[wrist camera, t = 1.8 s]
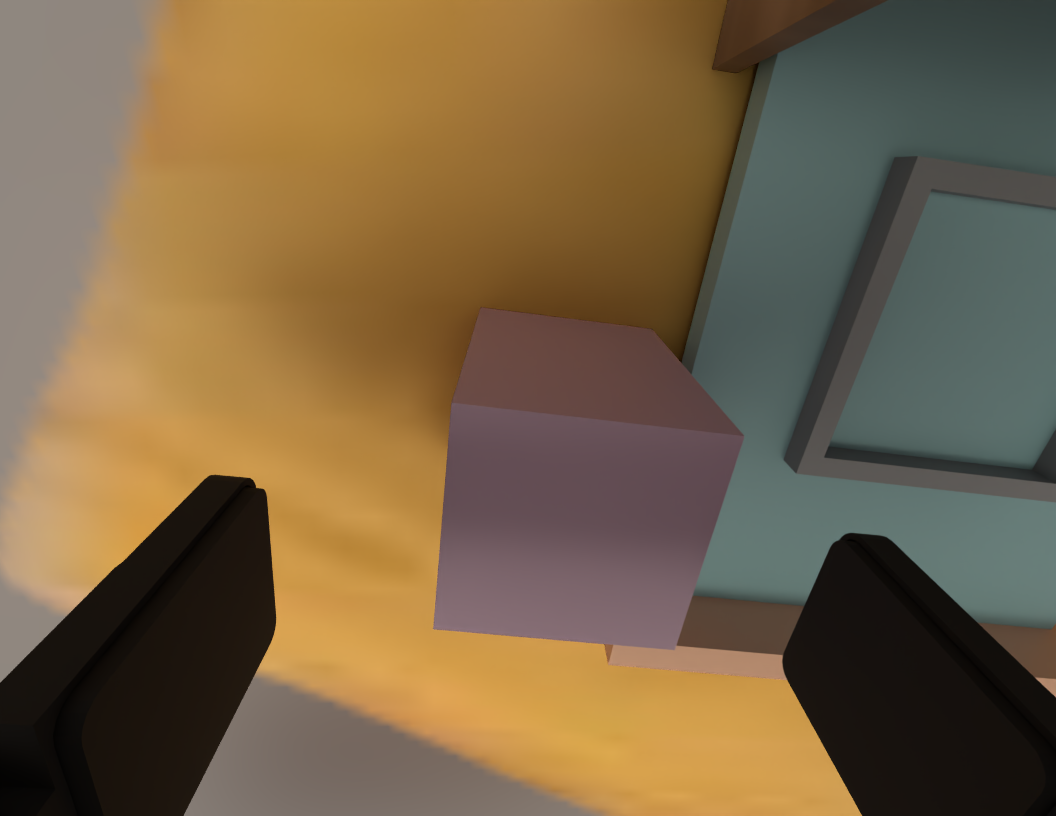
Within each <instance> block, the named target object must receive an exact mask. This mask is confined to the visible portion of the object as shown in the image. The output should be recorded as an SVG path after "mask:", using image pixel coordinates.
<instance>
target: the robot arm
mask: <svg viewBox="0 0 1056 816" xmlns="http://www.w3.org/2000/svg"><path fill="white" fill-rule="evenodd" d="M275 626H276V609H275V596H274V583H273V570H272V557H271V544H270V531H269V518H268V505H267V495H266V492H265V490H264V489H261V488H256V485H255V483H254V481H253V480H252V479H251V478H244V477H233V476H222V475H210V476H208V477H207V478H206V479H205V480H204V481H203V482H202V483H201V484H200V485H199V486H198V487H197V488H196V489H195V490H194V491H193V492H192V493H191V494H190V495H189V496H188V497H187V498H186V499H185V500H184V501H183V502H182V503H181V504H180V505H179V506H178V507H177V508H176V509H175V510H174V511H173V512H172V513H171V514H170V515H169V516H168V517H167V518H166V519H165V520H164V521H163V522H162V523H161V524H160V525H159V526H158V527H157V528H156V529H155V530H154V531H153V532H152V533H151V534H150V535H149V536H148V537H147V538H146V539H145V540H144V541H143V542H142V543H141V544H140V545H139V546H138V547H137V548H136V549H135V550H134V551H133V552H132V553H131V554H130V555H129V556H128V557H127V558H126V559H125V560H124V561H123V562H122V563H121V564H119V565H118V566H117V567H115V568H114V569H113V570H112V571H111V572H110V573H109V574H108V575H107V576H106V577H105V578H104V579H103V580H102V581H101V582H100V583H99V584H98V585H97V586H96V587H95V588H94V589H93V590H92V591H91V592H90V593H89V594H88V595H87V596H86V597H85V598H84V599H83V600H82V601H81V602H80V603H79V604H78V605H77V606H76V607H75V608H74V609H73V610H72V611H71V612H70V613H69V614H68V615H67V616H66V617H65V618H64V619H63V620H62V621H61V622H60V623H59V624H58V625H57V626H56V628H55V629H54V630H52V631H51V632H50V633H49V634H48V635H47V636H46V637H45V638H44V640H43V641H42V642H40V643H39V644H38V645H37V646H36V647H35V648H34V649H33V651H31V652H30V653H29V654H28V655H27V656H26V657H25V658H24V659H23V661H21V662H20V664H18V666H17V667H15V669H13V671H12V672H11V673H10V674H9V675H8V676H7V677H6V678H5V679H4V680H3V681H2V682H1V683H0V816H184V813H185V812H186V809H187V808H188V806H189V804H190V802H191V799H192V798H193V796H194V794H195V792H196V790H197V788H198V786H199V784H200V782H201V780H202V778H203V776H204V774H205V772H206V770H207V768H208V766H209V764H210V762H211V760H212V758H213V756H214V754H215V752H216V750H217V748H218V746H219V744H220V742H221V740H222V738H223V736H224V734H225V732H226V730H227V729H228V727H229V725H230V723H231V720H232V719H233V716H234V715H235V713H236V711H237V709H238V707H239V705H240V703H241V700H242V699H243V697H244V695H245V693H246V691H247V689H248V687H249V685H250V683H251V681H252V679H253V677H254V675H255V673H256V671H257V669H258V667H259V665H260V663H261V661H262V659H263V657H264V655H265V653H266V651H267V649H268V647H269V645H270V643H271V641H272V638H273V635H274V631H275ZM782 665H783V671H784V674H785V676H786V679H787V680H788V682H789V684H790V686H791V688H792V689H793V691H794V693H795V695H796V697H797V699H798V700H799V702H800V704H801V706H802V708H803V709H804V711H805V713H806V715H807V717H808V718H809V720H810V722H811V724H812V726H813V727H814V729H815V731H816V733H817V735H818V737H819V738H820V740H821V742H822V744H823V746H824V747H825V749H826V751H827V753H828V755H829V756H830V758H831V760H832V762H833V764H834V766H835V767H836V769H837V771H838V773H839V775H840V776H841V778H842V780H843V782H844V784H845V785H846V787H847V789H848V791H849V793H850V795H851V796H852V798H853V800H854V802H855V804H856V805H857V807H858V809H859V811H860V813H861V814H862V816H1056V697H1055V696H1054V695H1053V694H1052V693H1051V692H1050V691H1049V690H1048V689H1047V688H1045V687H1044V686H1043V685H1042V684H1041V683H1040V682H1039V681H1038V680H1037V679H1036V678H1035V677H1034V676H1033V675H1032V674H1031V673H1030V672H1029V671H1028V670H1027V669H1026V668H1025V667H1023V666H1022V665H1021V664H1020V663H1019V662H1018V661H1017V660H1016V659H1015V658H1014V657H1013V656H1012V655H1011V654H1010V653H1009V652H1008V651H1007V650H1006V649H1005V648H1004V647H1003V646H1002V645H1000V644H999V643H998V642H997V641H996V640H995V639H994V638H993V637H992V636H991V635H990V634H989V633H988V632H987V631H986V630H985V629H984V628H983V627H982V626H981V625H980V624H978V623H977V622H976V621H975V620H974V619H973V618H972V617H971V616H970V615H969V614H968V613H967V612H966V611H965V610H964V609H963V608H962V607H961V606H960V605H959V604H958V603H957V602H955V601H954V600H953V599H952V598H951V597H950V596H949V595H948V594H947V593H946V592H945V591H944V590H943V589H942V588H941V587H940V586H939V585H938V584H937V583H936V582H935V581H933V580H932V579H931V578H930V577H929V576H928V575H927V574H926V573H925V572H924V571H923V570H922V569H921V568H920V567H919V566H918V565H917V564H916V563H915V562H914V561H913V560H912V559H910V558H909V557H908V556H907V555H906V554H905V553H904V552H903V551H902V550H901V549H900V548H899V547H898V546H897V545H896V544H895V543H894V542H893V541H892V540H890V539H889V538H887V537H885V536H881V535H872V534H861V533H847V534H845V535H843V536H842V537H841V538H840V540H838V541H835V542H834V543H833V544H832V545H831V547H830V549H829V551H828V553H827V556H826V558H825V560H824V562H823V565H822V567H821V569H820V571H819V574H818V576H817V578H816V581H815V583H814V585H813V587H812V590H811V592H810V594H809V596H808V599H807V601H806V603H805V605H804V608H803V610H802V612H801V614H800V617H799V619H798V621H797V624H796V626H795V628H794V630H793V633H792V635H791V637H790V639H789V642H788V644H787V646H786V648H785V651H784V653H783V657H782Z"/></svg>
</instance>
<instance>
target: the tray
mask: <svg viewBox="0 0 1056 816" xmlns="http://www.w3.org/2000/svg"><path fill="white" fill-rule="evenodd" d="M682 364H683V365H684V367H685V368H686V369H687V370H688V371H689V372H690V374H691V375H692V376H693V377H694V378H695V379H696V381H697V382H698V383H699V384H700V385H701V386H702V387H703V389H704V390H705V391H706V392H707V393H708V394H709V396H710V397H711V398H712V399H713V400H714V401H715V402H716V404H717V405H718V406H719V407H720V408H721V409H722V411H723V412H724V413H725V414H726V415H727V416H728V418H729V419H730V420H731V421H732V422H733V423H734V424H735V426H736V427H737V428H738V429H739V430H740V431H741V433H742V434H743V435H744V436H745V437H744V440H743V443H742V446H741V449H740V452H739V455H738V458H737V462H736V465H735V468H734V471H733V474H732V477H731V480H730V483H729V486H728V489H727V492H726V495H725V498H724V501H723V504H722V507H721V510H720V513H719V516H718V520H717V523H716V526H715V529H714V532H713V535H712V538H711V541H710V544H709V547H708V550H707V553H706V556H705V559H704V562H703V565H702V568H701V571H700V575H699V578H698V581H697V584H696V587H695V590H694V593H693V596H692V599H691V602H690V605H689V608H688V611H687V614H686V617H685V620H684V623H683V626H682V629H681V633H680V636H679V639H678V642H677V645H676V648H675V650H667V649H655V648H644V647H632V646H621V645H609V644H605V650H606V655H607V661H608V665H616V666H628V667H640V668H652V669H663V670H675V671H687V672H699V673H710V674H722V675H734V676H746V677H758V678H769V679H781V680H787V679H786V676H785V674H784V671H783V665H782V657H783V653H784V651H785V648H786V646H787V644H788V642H789V639H790V637H791V635H792V633H793V630H794V628H795V626H796V624H797V621H798V619H799V617H800V614H801V612H802V610H803V608H804V605H805V603H806V601H807V599H808V596H809V594H810V592H811V590H812V587H813V585H814V583H815V581H816V578H817V576H818V574H819V571H820V569H821V567H822V565H823V562H824V560H825V558H826V556H827V553H828V551H829V549H830V547H831V545H832V544H833V543H834V542H835V541H838V540H840V538H841V537H842V536H843V535H845V534H847V533H861V534H872V535H881V536H885V537H887V538H889V539H890V540H892V541H893V542H894V543H895V544H896V545H897V546H898V547H899V548H900V549H901V550H902V551H903V552H904V553H905V554H906V555H907V556H908V557H909V558H910V559H912V560H913V561H914V562H915V563H916V564H917V565H918V566H919V567H920V568H921V569H922V570H923V571H924V572H925V573H926V574H927V575H928V576H929V577H930V578H931V579H932V580H933V581H935V582H936V583H937V584H938V585H939V586H940V587H941V588H942V589H943V590H944V591H945V592H946V593H947V594H948V595H949V596H950V597H951V598H952V599H953V600H954V601H955V602H957V603H958V604H959V605H960V606H961V607H962V608H963V609H964V610H965V611H966V612H967V613H968V614H969V615H970V616H971V617H972V618H973V619H974V620H975V621H976V622H977V623H978V624H980V625H981V626H982V627H983V628H984V629H985V630H986V631H987V632H988V633H989V634H990V635H991V636H992V637H993V638H994V639H995V640H996V641H997V642H998V643H999V644H1000V645H1002V646H1003V647H1004V648H1005V649H1006V650H1007V651H1008V652H1009V653H1010V654H1011V655H1012V656H1013V657H1014V658H1015V659H1016V660H1017V661H1018V662H1019V663H1020V664H1021V665H1022V666H1023V667H1025V668H1026V669H1027V670H1028V671H1029V672H1030V673H1031V674H1032V675H1033V676H1034V677H1035V678H1036V679H1037V680H1038V681H1039V682H1040V683H1041V684H1042V685H1043V686H1044V687H1045V688H1047V689H1048V690H1049V691H1050V692H1051V693H1052V694H1053V695H1054V696H1055V697H1056V0H888V1H886V2H884V3H881V4H879V5H877V6H875V7H873V8H871V9H869V10H867V11H865V12H863V13H861V14H858V15H856V16H854V17H852V18H850V19H848V20H846V21H844V22H842V23H840V24H838V25H835V26H833V27H831V28H829V29H827V30H825V31H823V32H821V33H819V34H817V35H815V36H813V37H810V38H808V39H806V40H804V41H802V42H800V43H798V44H796V45H794V46H792V47H790V48H787V49H785V50H783V51H781V52H779V53H777V54H775V55H773V56H771V57H769V58H767V59H764V60H762V61H760V62H759V65H758V69H757V73H756V77H755V81H754V85H753V88H752V92H751V96H750V100H749V104H748V108H747V112H746V116H745V119H744V123H743V127H742V131H741V135H740V139H739V143H738V146H737V150H736V154H735V158H734V162H733V166H732V170H731V173H730V177H729V181H728V185H727V189H726V193H725V197H724V200H723V204H722V208H721V212H720V216H719V220H718V224H717V227H716V231H715V235H714V239H713V243H712V247H711V251H710V254H709V258H708V262H707V266H706V270H705V274H704V278H703V281H702V285H701V289H700V293H699V297H698V301H697V305H696V309H695V312H694V316H693V320H692V324H691V328H690V332H689V336H688V339H687V343H686V347H685V351H684V355H683V359H682Z"/></svg>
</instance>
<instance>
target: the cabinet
mask: <svg viewBox="0 0 1056 816" xmlns="http://www.w3.org/2000/svg"><path fill="white" fill-rule="evenodd" d="M886 1H888V0H728V3H727V7H726V12H725V16H724V20H723V25H722V29H721V33H720V38H719V42H718V46H717V51H716V55H715V59H714V64H713V68H712V69H714V70H720V71H727V72H733V73H737V72H739V71H741V70H744V69H746V68H748V67H750V66H752V65H754V64H756V63H758V62H760V61H762V60H764V59H767V58H769V57H771V56H773V55H775V54H777V53H779V52H781V51H783V50H785V49H787V48H790V47H792V46H794V45H796V44H798V43H800V42H802V41H804V40H806V39H808V38H810V37H813V36H815V35H817V34H819V33H821V32H823V31H825V30H827V29H829V28H831V27H833V26H835V25H838V24H840V23H842V22H844V21H846V20H848V19H850V18H852V17H854V16H856V15H858V14H861V13H863V12H865V11H867V10H869V9H871V8H873V7H875V6H877V5H879V4H881V3H884V2H886Z"/></svg>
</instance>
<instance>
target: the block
mask: <svg viewBox="0 0 1056 816" xmlns="http://www.w3.org/2000/svg"><path fill="white" fill-rule="evenodd" d="M744 437H745V436H744V435H743V434H742V433H741V431H740V430H739V429H738V428H737V427H736V426H735V424H734V423H733V422H732V421H731V420H730V419H729V418H728V416H727V415H726V414H725V413H724V412H723V411H722V409H721V408H720V407H719V406H718V405H717V404H716V402H715V401H714V400H713V399H712V398H711V397H710V396H709V394H708V393H707V392H706V391H705V390H704V389H703V387H702V386H701V385H700V384H699V383H698V382H697V381H696V379H695V378H694V377H693V376H692V375H691V374H690V372H689V371H688V370H687V369H686V368H685V367H684V365H683V364H682V363H681V362H680V361H679V360H678V359H677V357H676V356H675V355H674V354H673V353H672V352H671V350H670V349H669V348H668V347H667V346H666V345H665V343H664V342H663V341H662V340H661V339H660V338H659V337H658V335H657V334H656V333H655V332H654V331H653V330H652V329H648V328H640V327H632V326H624V325H617V324H609V323H601V322H593V321H585V320H577V319H569V318H561V317H553V316H545V315H537V314H530V313H522V312H514V311H506V310H498V309H490V308H482V307H481V308H480V311H479V314H478V318H477V321H476V324H475V327H474V331H473V334H472V337H471V341H470V344H469V347H468V350H467V354H466V357H465V360H464V363H463V367H462V370H461V373H460V376H459V380H458V383H457V386H456V390H455V393H454V396H453V399H452V403H451V415H450V427H449V440H448V452H447V465H446V477H445V490H444V502H443V515H442V528H441V540H440V553H439V565H438V578H437V590H436V603H435V615H434V628H433V629H437V630H449V631H460V632H472V633H483V634H495V635H506V636H518V637H529V638H541V639H552V640H563V641H575V642H586V643H598V644H609V645H621V646H632V647H644V648H655V649H667V650H675V648H676V645H677V642H678V639H679V636H680V633H681V629H682V626H683V623H684V620H685V617H686V614H687V611H688V608H689V605H690V602H691V599H692V596H693V593H694V590H695V587H696V584H697V581H698V578H699V575H700V571H701V568H702V565H703V562H704V559H705V556H706V553H707V550H708V547H709V544H710V541H711V538H712V535H713V532H714V529H715V526H716V523H717V520H718V516H719V513H720V510H721V507H722V504H723V501H724V498H725V495H726V492H727V489H728V486H729V483H730V480H731V477H732V474H733V471H734V468H735V465H736V462H737V458H738V455H739V452H740V449H741V446H742V443H743V440H744Z"/></svg>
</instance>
